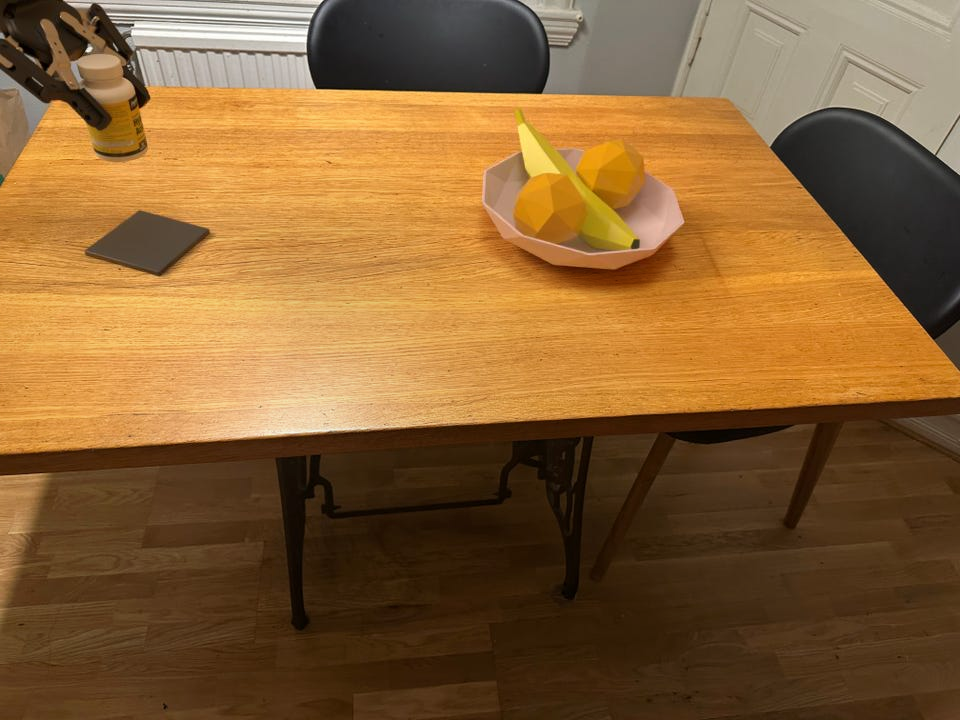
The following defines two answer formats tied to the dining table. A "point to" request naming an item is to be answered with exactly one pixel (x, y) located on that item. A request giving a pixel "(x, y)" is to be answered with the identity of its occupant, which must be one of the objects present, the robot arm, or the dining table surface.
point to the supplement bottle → (113, 109)
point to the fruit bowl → (579, 202)
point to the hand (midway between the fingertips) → (126, 113)
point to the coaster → (147, 242)
